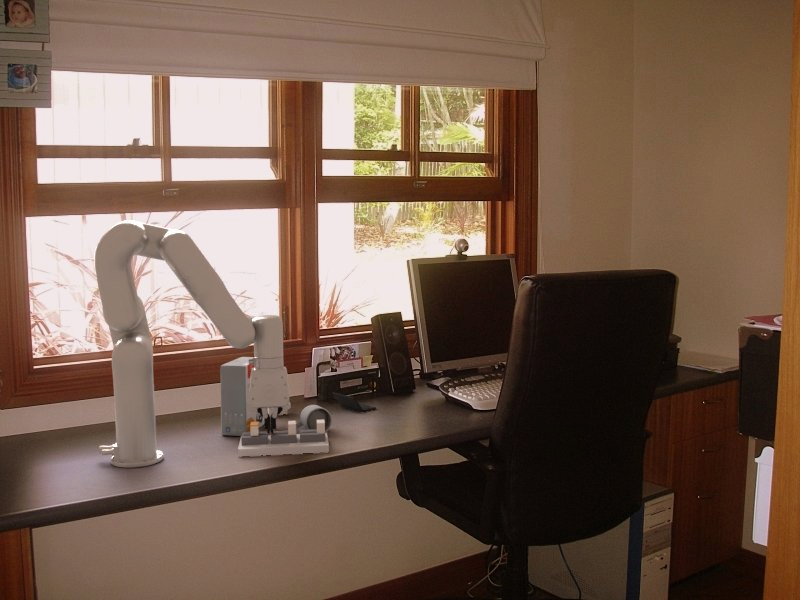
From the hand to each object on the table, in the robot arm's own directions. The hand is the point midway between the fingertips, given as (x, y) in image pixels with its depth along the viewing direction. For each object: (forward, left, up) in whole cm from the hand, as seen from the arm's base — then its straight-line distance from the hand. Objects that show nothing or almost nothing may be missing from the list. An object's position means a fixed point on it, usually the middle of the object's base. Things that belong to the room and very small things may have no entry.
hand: (270, 431), depth 213 cm
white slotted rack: (+3, 0, -5) cm, 6 cm away
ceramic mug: (+11, +15, -5) cm, 19 cm away
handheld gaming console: (+25, +40, -5) cm, 47 cm away
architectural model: (+1, +37, -5) cm, 37 cm away
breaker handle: (-4, 0, 0) cm, 4 cm away
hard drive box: (-8, +21, -5) cm, 23 cm away
